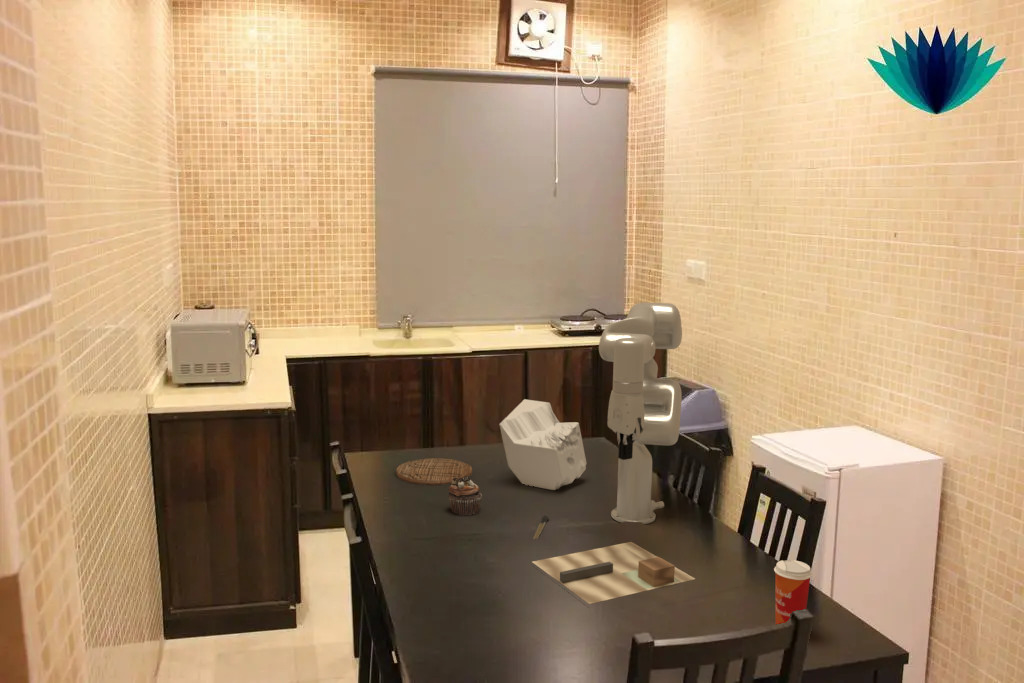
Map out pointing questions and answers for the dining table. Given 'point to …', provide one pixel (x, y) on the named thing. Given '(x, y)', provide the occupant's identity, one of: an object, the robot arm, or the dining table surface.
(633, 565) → the board
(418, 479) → the trivet
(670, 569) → the walnut block
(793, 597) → the paper cup
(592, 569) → the dark gray bar
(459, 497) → the cupcake
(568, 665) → the dining table surface
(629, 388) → the robot arm
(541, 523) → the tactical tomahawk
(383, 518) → the dining table surface
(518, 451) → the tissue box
